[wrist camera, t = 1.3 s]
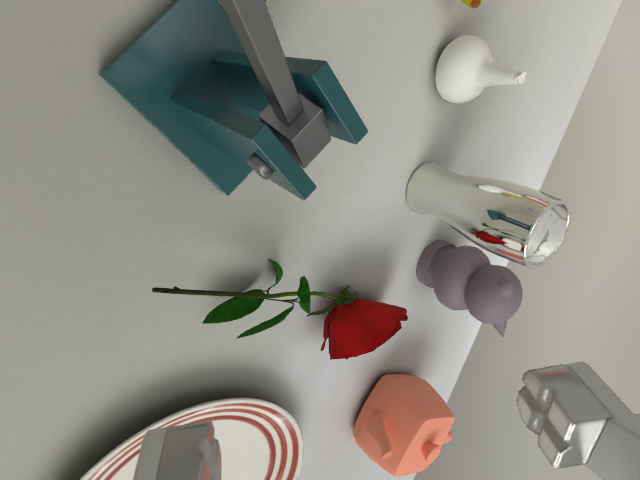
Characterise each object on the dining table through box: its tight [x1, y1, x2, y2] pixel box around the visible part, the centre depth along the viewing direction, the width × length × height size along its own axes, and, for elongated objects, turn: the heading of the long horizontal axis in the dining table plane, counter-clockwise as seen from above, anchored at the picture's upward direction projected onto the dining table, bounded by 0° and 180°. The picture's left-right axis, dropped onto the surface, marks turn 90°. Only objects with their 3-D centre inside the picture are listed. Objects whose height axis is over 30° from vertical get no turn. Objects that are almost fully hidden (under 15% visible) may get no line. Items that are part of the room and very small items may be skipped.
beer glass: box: [406, 162, 571, 269], centre depth 42 cm, size 7×7×15 cm
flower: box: [152, 259, 408, 360], centre depth 39 cm, size 9×10×30 cm
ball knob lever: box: [220, 0, 331, 168], centre depth 16 cm, size 14×4×4 cm, turn 37°
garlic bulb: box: [435, 36, 526, 103], centre depth 40 cm, size 6×6×8 cm
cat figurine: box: [416, 240, 522, 337], centre depth 50 cm, size 9×8×12 cm
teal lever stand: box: [99, 0, 368, 200], centre depth 25 cm, size 12×9×15 cm
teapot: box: [353, 374, 454, 476], centre depth 56 cm, size 12×18×10 cm, turn 60°
